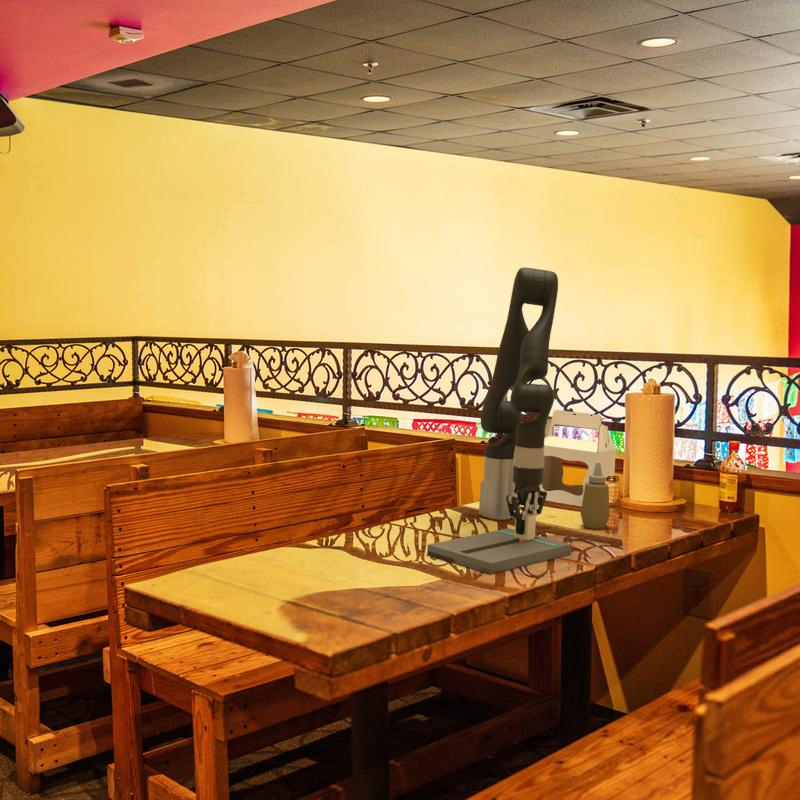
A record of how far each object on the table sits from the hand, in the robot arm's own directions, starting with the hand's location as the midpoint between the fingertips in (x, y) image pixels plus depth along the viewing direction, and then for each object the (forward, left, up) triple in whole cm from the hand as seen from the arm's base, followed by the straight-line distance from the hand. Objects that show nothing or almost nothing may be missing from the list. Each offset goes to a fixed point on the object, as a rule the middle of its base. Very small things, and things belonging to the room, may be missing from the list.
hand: (524, 532), depth 242 cm
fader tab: (0, 0, -3) cm, 3 cm away
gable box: (-30, +61, -4) cm, 68 cm away
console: (0, -9, -4) cm, 10 cm away
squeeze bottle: (-4, +36, -4) cm, 36 cm away
